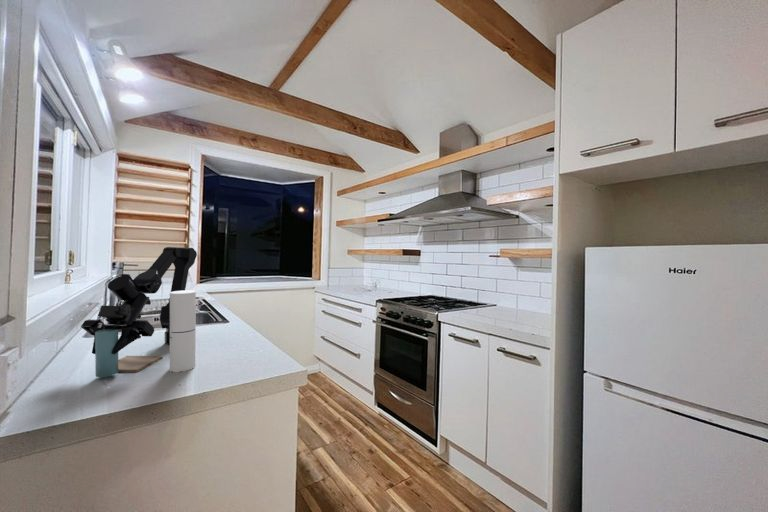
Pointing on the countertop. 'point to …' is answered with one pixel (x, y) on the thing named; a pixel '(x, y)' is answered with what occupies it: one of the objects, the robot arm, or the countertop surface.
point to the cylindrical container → (182, 330)
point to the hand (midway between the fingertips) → (103, 353)
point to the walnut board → (136, 363)
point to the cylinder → (106, 352)
